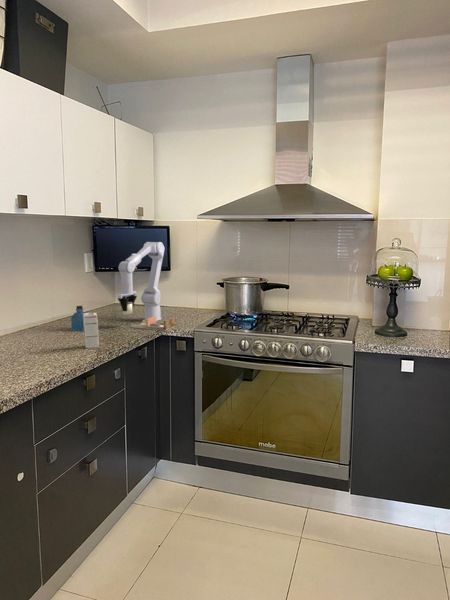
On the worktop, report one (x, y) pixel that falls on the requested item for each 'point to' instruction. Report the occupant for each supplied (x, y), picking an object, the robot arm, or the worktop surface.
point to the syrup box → (91, 330)
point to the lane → (164, 326)
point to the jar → (128, 308)
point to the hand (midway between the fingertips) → (127, 310)
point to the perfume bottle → (78, 319)
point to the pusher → (152, 322)
